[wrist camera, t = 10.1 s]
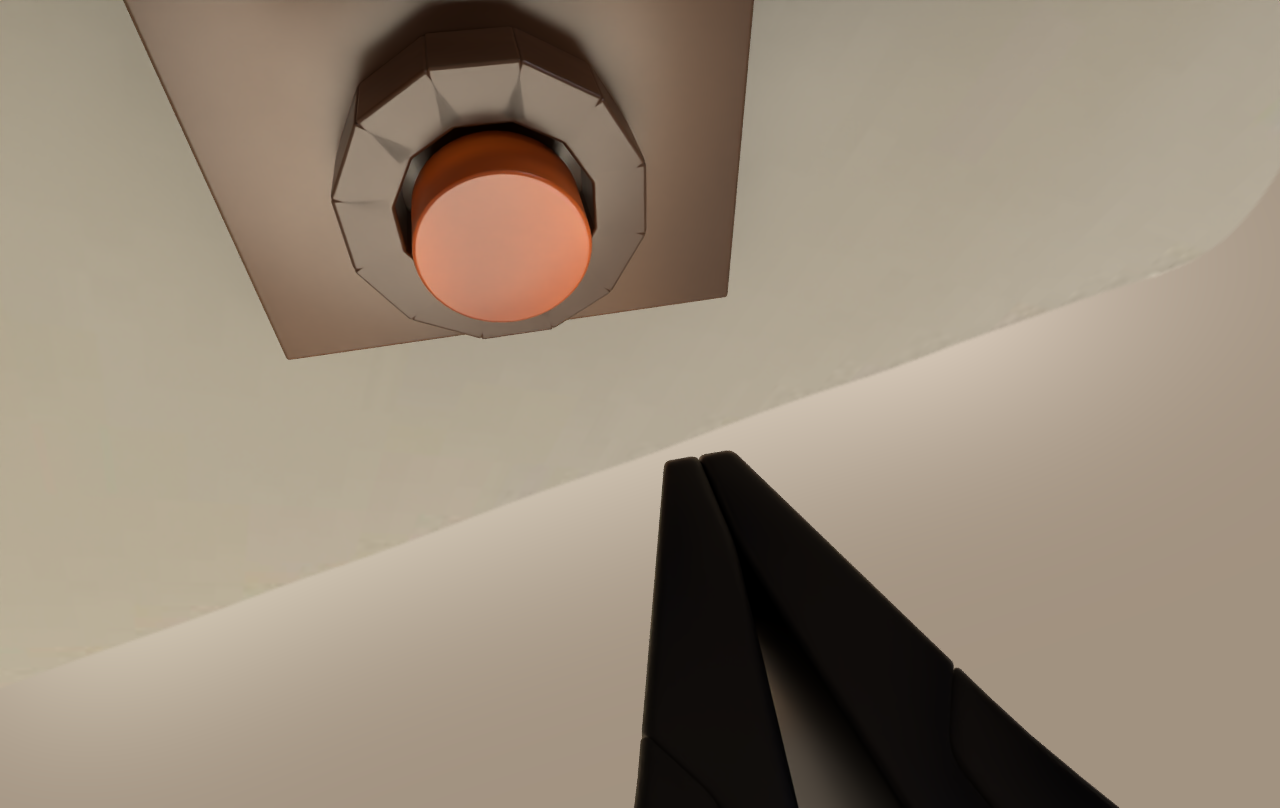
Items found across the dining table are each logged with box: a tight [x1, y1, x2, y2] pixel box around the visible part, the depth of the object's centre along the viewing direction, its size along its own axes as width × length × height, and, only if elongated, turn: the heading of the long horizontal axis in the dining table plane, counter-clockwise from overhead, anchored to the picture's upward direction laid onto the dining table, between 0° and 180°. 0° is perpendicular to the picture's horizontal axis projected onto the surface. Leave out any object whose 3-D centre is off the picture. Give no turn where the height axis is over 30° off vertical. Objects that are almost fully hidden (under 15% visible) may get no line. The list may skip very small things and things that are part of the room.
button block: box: [123, 0, 754, 360], centre depth 17 cm, size 12×9×4 cm
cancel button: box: [411, 130, 592, 322], centre depth 16 cm, size 4×4×2 cm
